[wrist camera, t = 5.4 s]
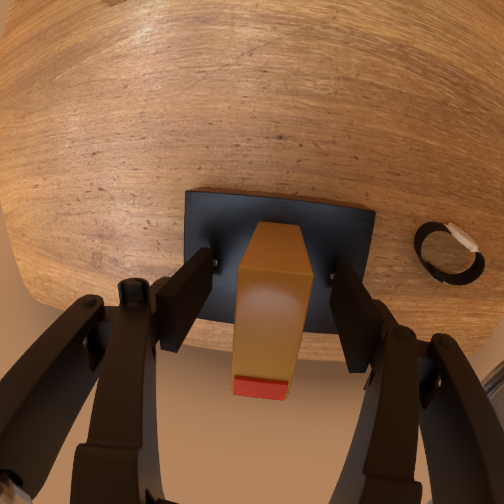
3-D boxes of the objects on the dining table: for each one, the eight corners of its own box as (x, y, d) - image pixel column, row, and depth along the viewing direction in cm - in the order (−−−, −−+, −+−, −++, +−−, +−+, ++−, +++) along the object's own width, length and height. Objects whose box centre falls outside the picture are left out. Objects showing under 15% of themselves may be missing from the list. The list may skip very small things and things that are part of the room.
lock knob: (258, 220, 16) (236, 268, 9) (299, 225, 16) (315, 277, 8) (250, 308, 18) (229, 397, 10) (287, 312, 18) (287, 403, 10)
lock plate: (363, 204, 18) (377, 211, 15) (341, 315, 21) (348, 336, 18) (199, 187, 19) (184, 190, 16) (196, 298, 22) (183, 317, 19)
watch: (478, 242, 18) (502, 254, 14) (457, 288, 19) (477, 305, 16) (422, 204, 18) (446, 212, 14) (398, 258, 19) (417, 275, 16)
